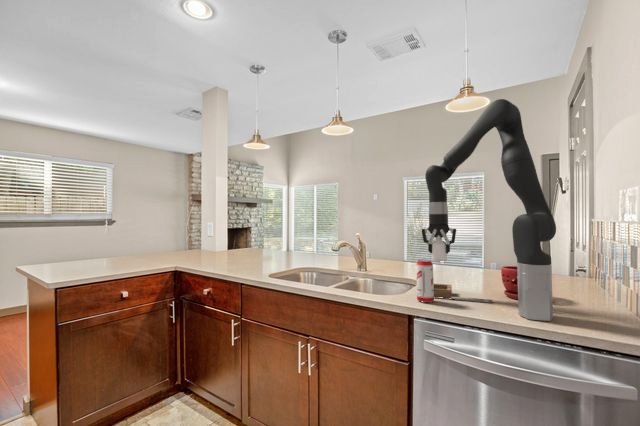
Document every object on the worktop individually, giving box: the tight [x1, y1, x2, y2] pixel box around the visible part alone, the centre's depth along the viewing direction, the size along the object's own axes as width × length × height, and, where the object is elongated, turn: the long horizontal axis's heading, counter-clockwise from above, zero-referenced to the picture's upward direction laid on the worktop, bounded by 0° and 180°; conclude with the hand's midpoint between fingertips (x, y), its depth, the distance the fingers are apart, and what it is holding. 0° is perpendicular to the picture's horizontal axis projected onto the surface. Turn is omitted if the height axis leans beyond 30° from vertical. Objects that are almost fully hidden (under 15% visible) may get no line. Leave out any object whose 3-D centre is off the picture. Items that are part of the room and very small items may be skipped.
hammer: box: [434, 283, 494, 304], centre depth 127 cm, size 12×24×4 cm, turn 66°
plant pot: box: [500, 265, 518, 300], centre depth 125 cm, size 13×13×12 cm
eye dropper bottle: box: [431, 235, 448, 262], centre depth 131 cm, size 4×6×12 cm
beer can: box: [415, 258, 435, 303], centre depth 122 cm, size 6×6×16 cm
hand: (439, 253), depth 131 cm, fingers closed on eye dropper bottle, 5 cm apart
